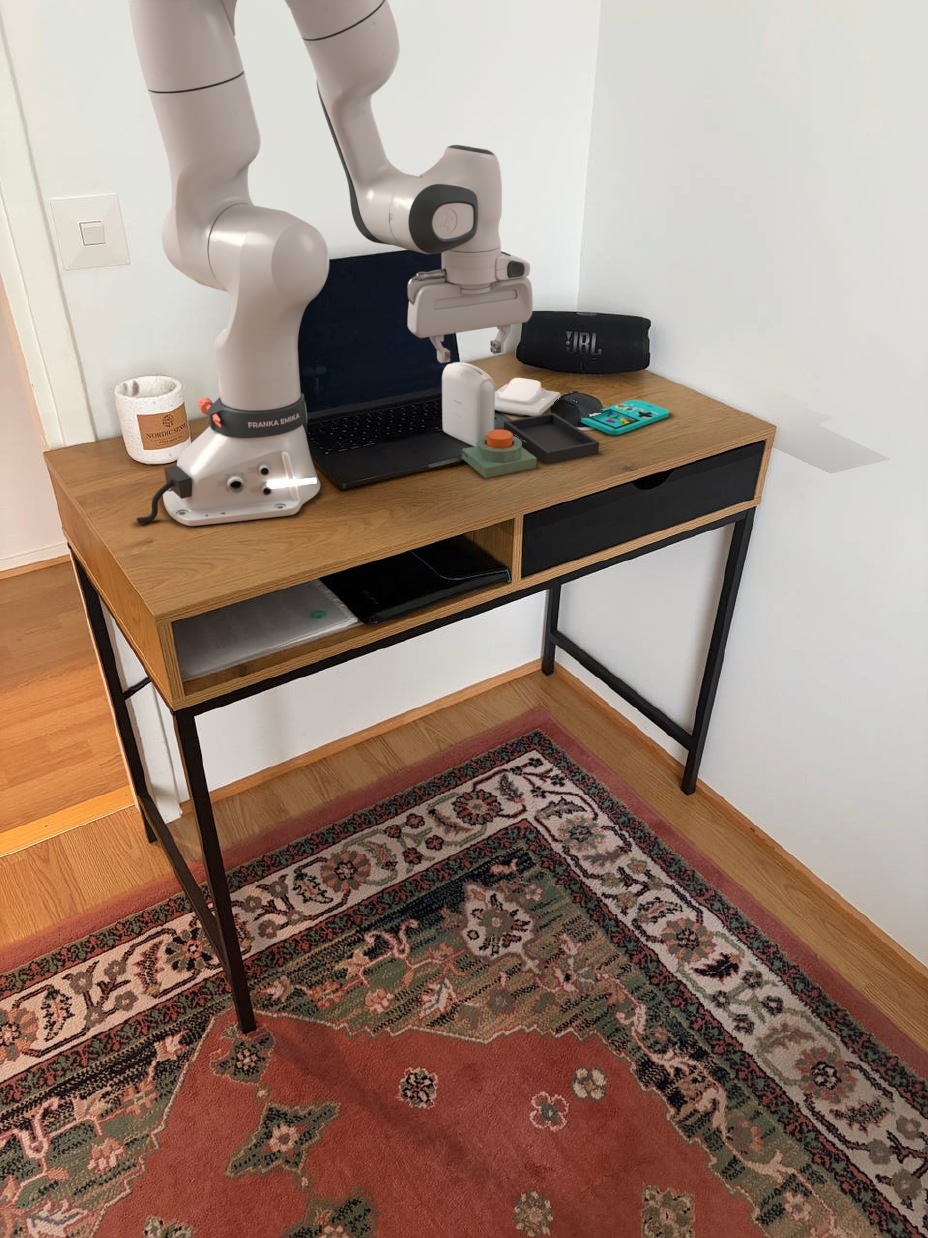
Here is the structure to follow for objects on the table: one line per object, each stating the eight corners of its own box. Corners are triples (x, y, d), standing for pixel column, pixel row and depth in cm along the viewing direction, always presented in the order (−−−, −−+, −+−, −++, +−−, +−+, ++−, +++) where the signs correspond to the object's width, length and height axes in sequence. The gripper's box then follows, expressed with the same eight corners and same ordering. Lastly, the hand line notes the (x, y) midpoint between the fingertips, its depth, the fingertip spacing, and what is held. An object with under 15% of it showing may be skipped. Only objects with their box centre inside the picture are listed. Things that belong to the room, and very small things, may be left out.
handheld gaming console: (672, 409, 160) (615, 430, 152) (671, 415, 160) (614, 436, 152) (635, 396, 165) (578, 416, 157) (635, 402, 166) (578, 421, 157)
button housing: (485, 478, 138) (485, 456, 136) (462, 458, 144) (462, 438, 142) (536, 467, 142) (537, 446, 140) (511, 449, 147) (512, 428, 146)
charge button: (494, 451, 139) (494, 440, 138) (482, 442, 142) (482, 431, 141) (516, 447, 140) (517, 436, 139) (504, 438, 143) (505, 427, 142)
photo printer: (438, 431, 153) (438, 359, 146) (458, 425, 155) (458, 354, 148) (477, 451, 147) (479, 376, 140) (497, 444, 149) (500, 371, 142)
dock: (546, 464, 143) (547, 452, 142) (503, 432, 153) (504, 421, 152) (598, 453, 146) (599, 442, 145) (552, 423, 157) (553, 412, 156)
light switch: (562, 378, 166) (540, 397, 156) (560, 401, 168) (538, 420, 158) (507, 370, 169) (481, 388, 159) (505, 392, 171) (480, 411, 161)
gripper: (416, 278, 129) (418, 373, 137) (539, 263, 137) (535, 353, 145) (398, 268, 134) (402, 360, 142) (519, 254, 142) (516, 342, 149)
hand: (470, 356), depth 143 cm, fingers open, 8 cm apart
